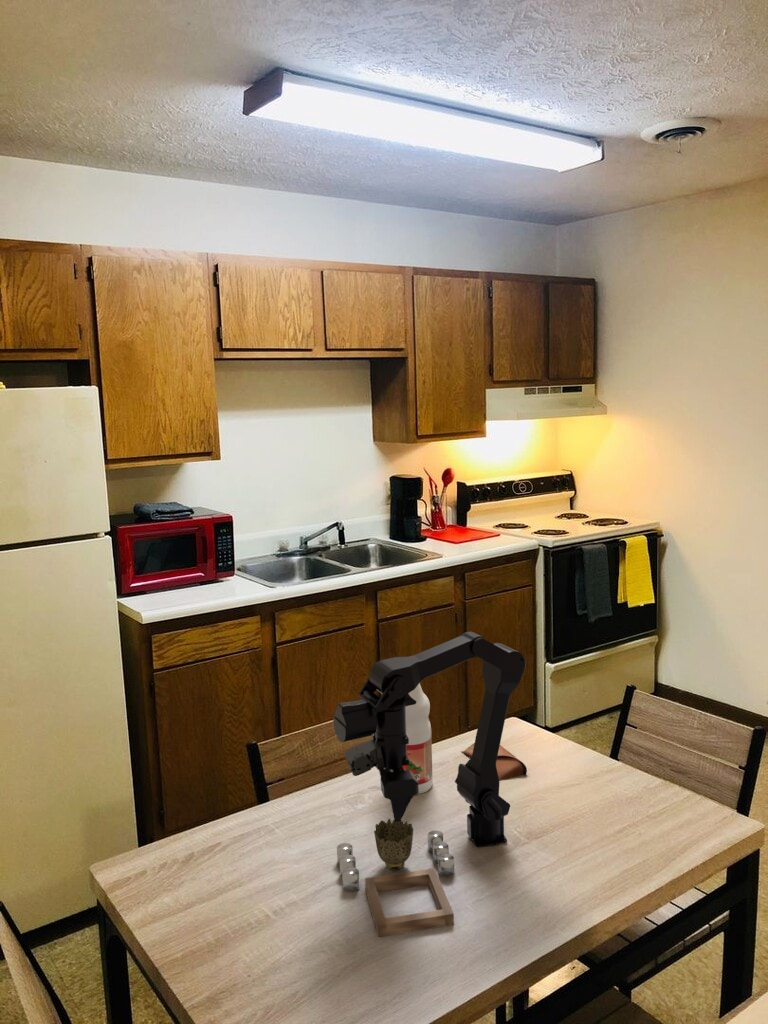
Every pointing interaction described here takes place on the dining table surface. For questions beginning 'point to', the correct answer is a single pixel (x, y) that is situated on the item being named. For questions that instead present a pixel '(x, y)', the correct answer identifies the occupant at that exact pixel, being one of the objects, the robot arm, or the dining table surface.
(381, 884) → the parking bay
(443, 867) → the spacer posts
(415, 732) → the white plastic bottle
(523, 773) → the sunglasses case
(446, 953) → the dining table surface
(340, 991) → the dining table surface
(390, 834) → the ornate brass lampshade
